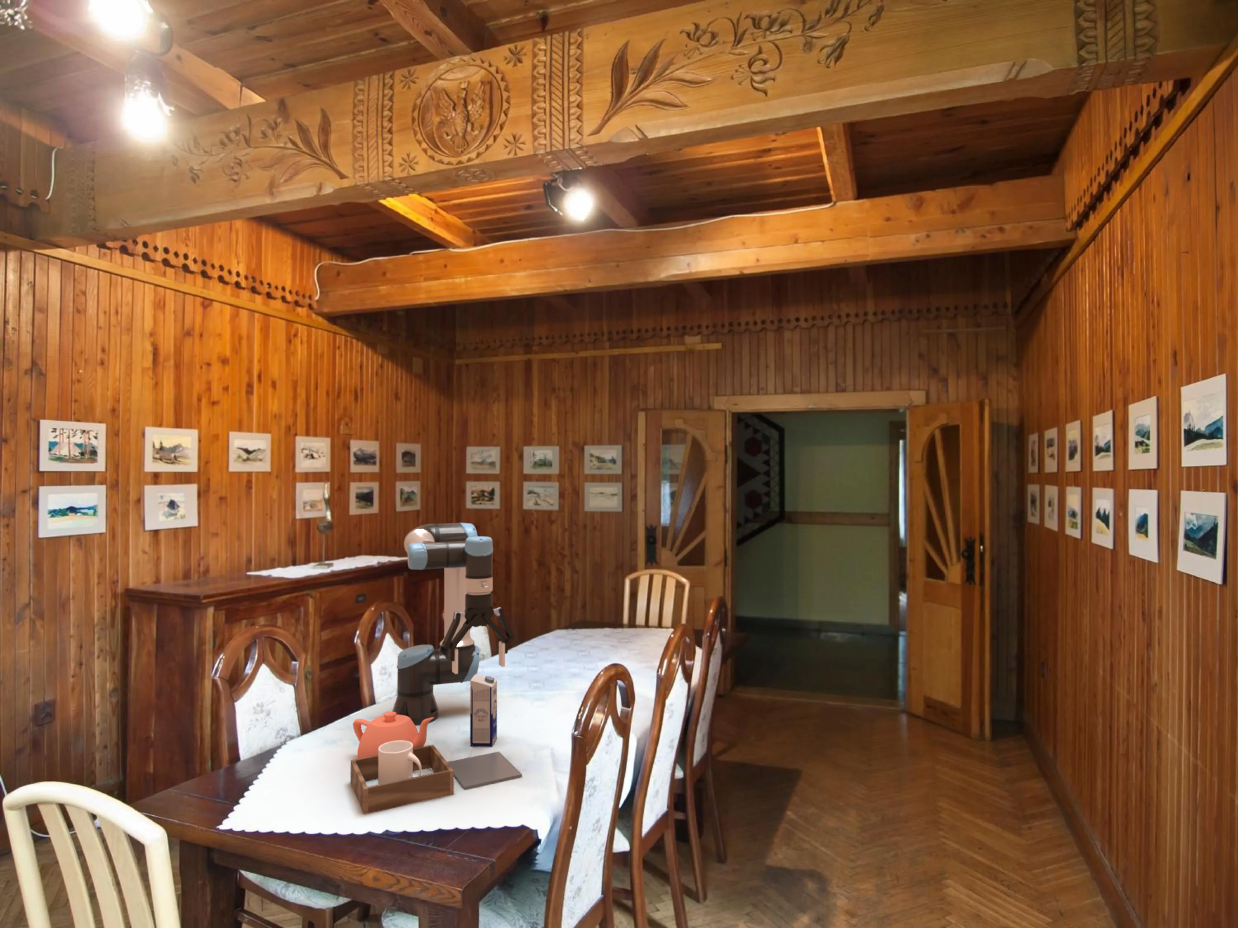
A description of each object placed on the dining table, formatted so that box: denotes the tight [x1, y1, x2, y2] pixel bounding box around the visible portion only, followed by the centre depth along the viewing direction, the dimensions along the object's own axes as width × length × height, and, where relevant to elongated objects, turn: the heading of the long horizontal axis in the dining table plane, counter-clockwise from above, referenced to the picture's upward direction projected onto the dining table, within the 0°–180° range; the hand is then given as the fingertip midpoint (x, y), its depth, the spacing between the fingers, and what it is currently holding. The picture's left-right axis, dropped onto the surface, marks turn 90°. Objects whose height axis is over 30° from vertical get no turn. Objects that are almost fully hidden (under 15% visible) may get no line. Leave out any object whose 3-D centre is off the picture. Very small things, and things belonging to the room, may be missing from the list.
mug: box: [377, 740, 423, 785], centre depth 187 cm, size 9×12×11 cm
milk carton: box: [469, 673, 498, 748], centre depth 219 cm, size 7×7×20 cm
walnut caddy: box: [349, 744, 455, 815], centre depth 187 cm, size 20×22×6 cm
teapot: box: [352, 711, 434, 759], centre depth 205 cm, size 25×17×13 cm
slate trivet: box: [447, 751, 523, 791], centre depth 198 cm, size 18×16×1 cm
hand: (478, 669), depth 199 cm, fingers open, 13 cm apart
